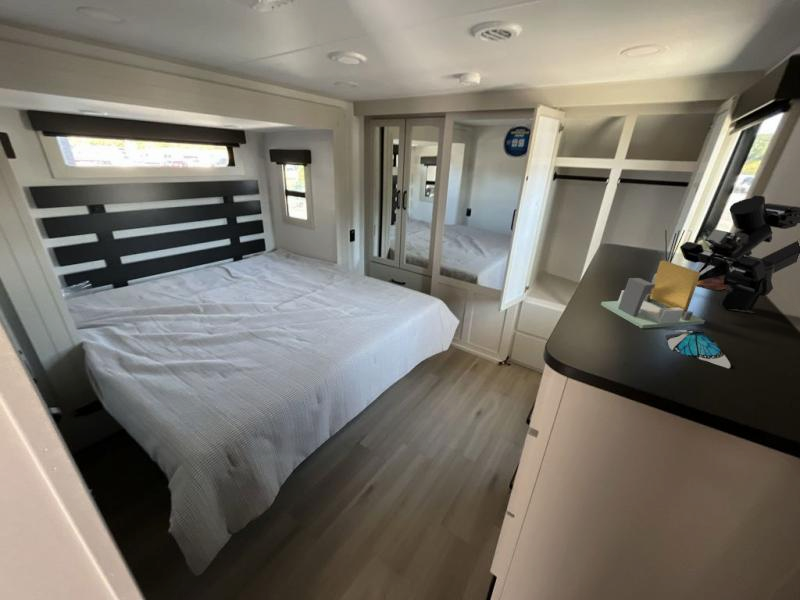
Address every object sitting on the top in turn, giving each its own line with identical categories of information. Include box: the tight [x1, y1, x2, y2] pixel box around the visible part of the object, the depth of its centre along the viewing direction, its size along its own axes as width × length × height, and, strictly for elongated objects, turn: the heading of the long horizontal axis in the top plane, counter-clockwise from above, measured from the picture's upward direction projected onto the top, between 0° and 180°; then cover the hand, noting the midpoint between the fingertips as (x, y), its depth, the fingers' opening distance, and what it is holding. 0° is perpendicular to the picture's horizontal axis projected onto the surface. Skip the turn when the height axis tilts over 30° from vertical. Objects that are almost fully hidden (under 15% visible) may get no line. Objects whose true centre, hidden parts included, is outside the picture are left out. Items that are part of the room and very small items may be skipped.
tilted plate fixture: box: [600, 277, 706, 329], centre depth 87 cm, size 20×14×10 cm
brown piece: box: [696, 275, 728, 291], centre depth 112 cm, size 12×12×7 cm
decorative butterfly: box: [665, 329, 731, 369], centre depth 72 cm, size 10×6×10 cm
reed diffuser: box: [651, 229, 686, 284], centre depth 105 cm, size 10×7×20 cm
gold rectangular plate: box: [649, 260, 700, 316], centre depth 87 cm, size 1×10×13 cm, turn 11°
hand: (692, 280), depth 87 cm, fingers closed
